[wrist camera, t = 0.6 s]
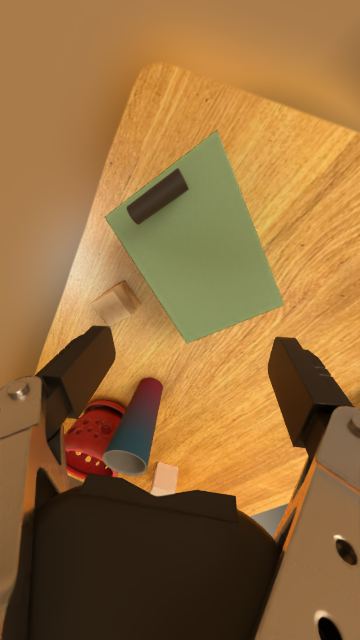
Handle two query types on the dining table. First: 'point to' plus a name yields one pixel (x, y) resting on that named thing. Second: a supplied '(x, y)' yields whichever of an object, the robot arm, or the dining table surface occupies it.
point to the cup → (135, 431)
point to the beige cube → (164, 479)
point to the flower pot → (92, 438)
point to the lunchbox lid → (198, 244)
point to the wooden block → (116, 304)
